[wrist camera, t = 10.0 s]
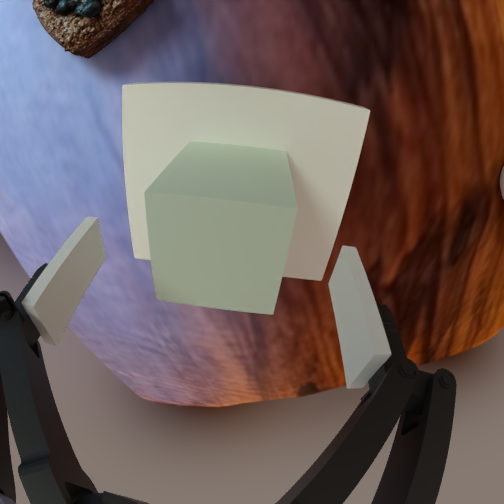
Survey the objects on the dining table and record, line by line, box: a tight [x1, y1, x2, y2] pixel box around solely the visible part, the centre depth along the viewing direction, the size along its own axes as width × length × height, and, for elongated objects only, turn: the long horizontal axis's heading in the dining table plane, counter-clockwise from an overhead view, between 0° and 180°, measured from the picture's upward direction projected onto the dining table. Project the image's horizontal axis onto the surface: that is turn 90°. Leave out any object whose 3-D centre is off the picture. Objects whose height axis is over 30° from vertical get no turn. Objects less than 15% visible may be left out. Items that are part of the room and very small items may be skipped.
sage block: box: [144, 141, 298, 315], centre depth 18 cm, size 7×7×9 cm
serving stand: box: [122, 82, 370, 281], centre depth 24 cm, size 16×18×4 cm
